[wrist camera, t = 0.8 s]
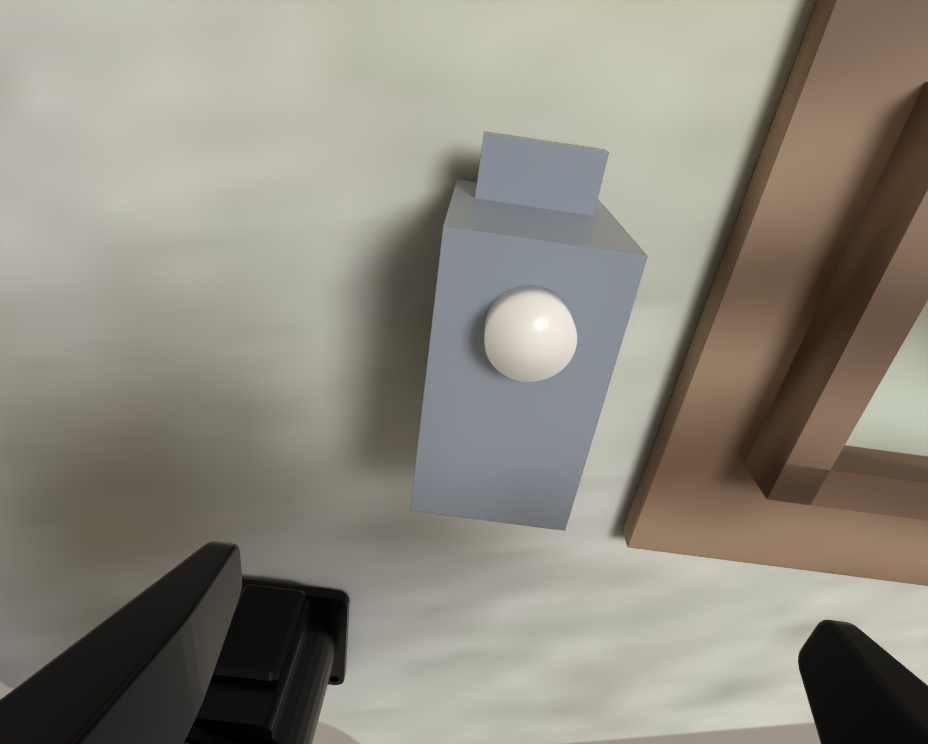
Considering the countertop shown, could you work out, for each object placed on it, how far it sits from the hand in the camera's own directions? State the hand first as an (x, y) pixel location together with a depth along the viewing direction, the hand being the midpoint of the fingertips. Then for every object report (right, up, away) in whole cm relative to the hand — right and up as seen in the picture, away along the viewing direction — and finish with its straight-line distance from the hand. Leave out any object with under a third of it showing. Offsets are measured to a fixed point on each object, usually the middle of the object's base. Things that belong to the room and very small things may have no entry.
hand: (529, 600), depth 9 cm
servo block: (0, +6, +10) cm, 12 cm away
